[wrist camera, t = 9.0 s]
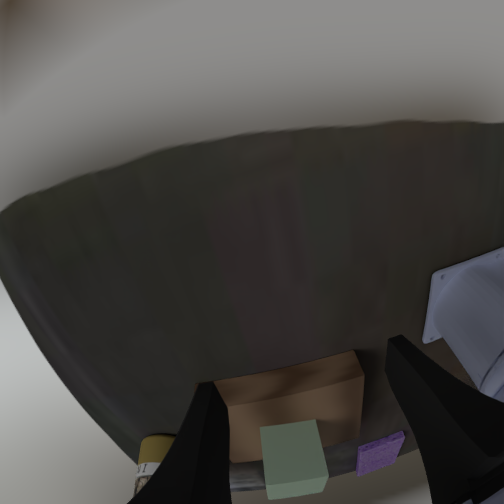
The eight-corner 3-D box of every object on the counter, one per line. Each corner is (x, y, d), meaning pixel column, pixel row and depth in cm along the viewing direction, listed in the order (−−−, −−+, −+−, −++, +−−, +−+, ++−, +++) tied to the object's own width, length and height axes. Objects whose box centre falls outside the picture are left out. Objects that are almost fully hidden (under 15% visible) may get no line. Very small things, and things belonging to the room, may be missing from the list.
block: (315, 419, 24) (328, 475, 18) (311, 442, 26) (322, 491, 21) (259, 427, 24) (265, 485, 18) (263, 449, 26) (268, 499, 20)
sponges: (401, 427, 34) (405, 437, 32) (392, 456, 40) (395, 464, 38) (356, 443, 34) (359, 453, 33) (354, 469, 40) (357, 477, 38)
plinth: (353, 349, 24) (364, 375, 21) (352, 416, 29) (358, 437, 27) (195, 383, 25) (193, 410, 22) (232, 441, 30) (233, 463, 27)
